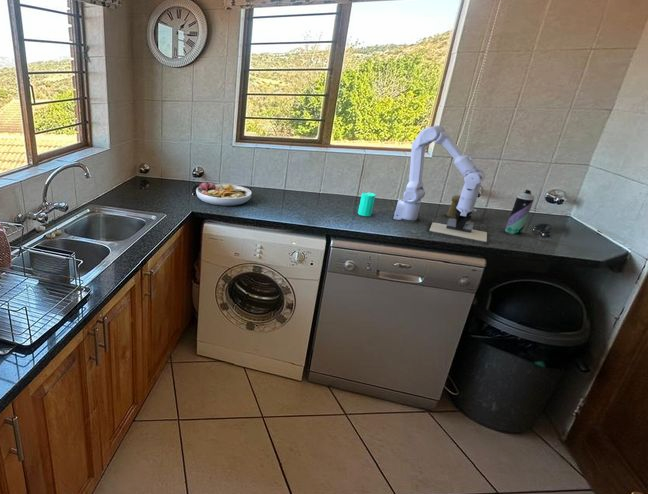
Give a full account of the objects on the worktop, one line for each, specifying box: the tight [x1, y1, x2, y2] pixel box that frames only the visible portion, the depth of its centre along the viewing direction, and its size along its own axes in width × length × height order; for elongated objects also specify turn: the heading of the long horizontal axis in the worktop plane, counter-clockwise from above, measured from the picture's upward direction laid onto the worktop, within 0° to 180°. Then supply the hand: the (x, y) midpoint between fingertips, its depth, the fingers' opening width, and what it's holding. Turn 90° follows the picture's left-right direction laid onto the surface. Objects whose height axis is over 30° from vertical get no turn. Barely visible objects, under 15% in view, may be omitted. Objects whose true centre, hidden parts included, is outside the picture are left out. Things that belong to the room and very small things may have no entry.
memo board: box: [429, 222, 488, 243], centre depth 177 cm, size 20×14×1 cm
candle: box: [357, 191, 377, 217], centre depth 198 cm, size 6×6×12 cm
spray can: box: [504, 189, 535, 235], centre depth 173 cm, size 6×6×20 cm
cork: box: [445, 194, 461, 218], centre depth 195 cm, size 6×6×11 cm
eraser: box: [446, 217, 475, 233], centre depth 178 cm, size 9×4×4 cm, turn 51°
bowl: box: [195, 181, 253, 207], centre depth 221 cm, size 30×30×8 cm
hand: (459, 227), depth 178 cm, fingers closed on eraser, 4 cm apart
